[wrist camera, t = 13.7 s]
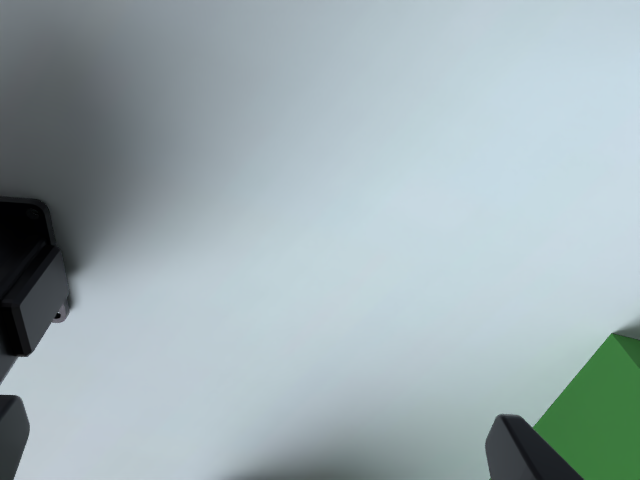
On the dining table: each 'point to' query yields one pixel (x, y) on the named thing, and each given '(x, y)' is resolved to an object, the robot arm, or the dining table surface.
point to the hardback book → (600, 414)
